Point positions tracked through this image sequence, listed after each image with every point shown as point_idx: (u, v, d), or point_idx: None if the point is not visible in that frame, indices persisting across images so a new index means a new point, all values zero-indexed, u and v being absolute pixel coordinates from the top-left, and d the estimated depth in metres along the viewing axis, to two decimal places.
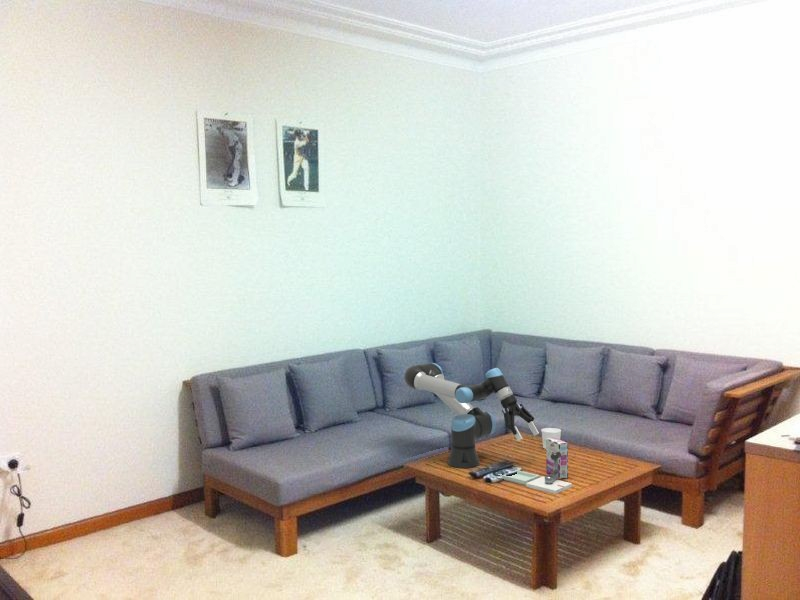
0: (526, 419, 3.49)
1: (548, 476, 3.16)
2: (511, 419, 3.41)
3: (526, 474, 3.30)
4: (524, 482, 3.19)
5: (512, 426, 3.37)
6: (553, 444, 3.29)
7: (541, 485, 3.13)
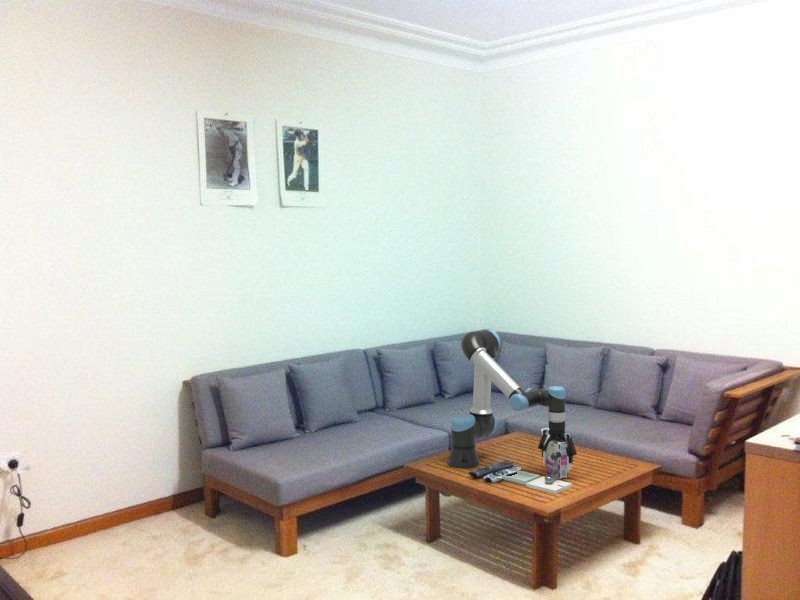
0: (546, 446, 3.35)
1: (548, 476, 3.16)
2: (568, 446, 3.28)
3: (526, 474, 3.30)
4: (524, 482, 3.19)
5: None
6: (553, 444, 3.29)
7: (541, 485, 3.13)
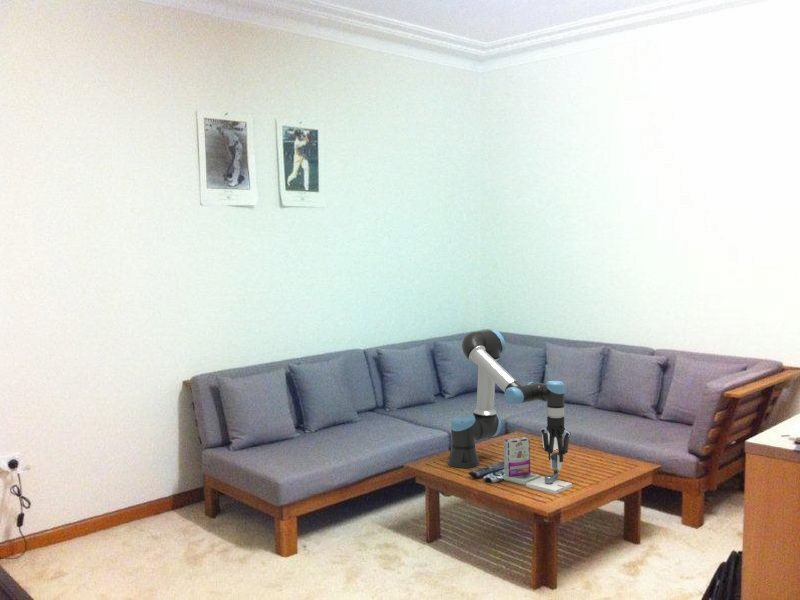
0: (552, 447, 3.22)
1: (548, 476, 3.16)
2: (561, 444, 3.20)
3: None
4: (524, 482, 3.19)
5: (563, 453, 3.20)
6: (521, 443, 3.26)
7: (541, 485, 3.13)
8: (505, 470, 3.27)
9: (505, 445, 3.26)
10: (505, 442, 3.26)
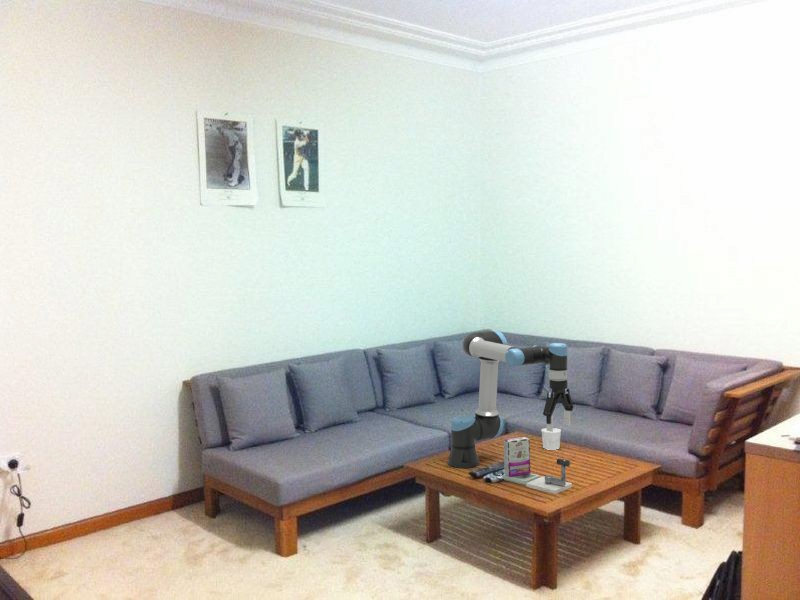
0: (565, 406, 3.15)
1: (549, 476, 3.16)
2: (552, 406, 3.06)
3: None
4: (524, 482, 3.19)
5: (549, 415, 3.04)
6: (521, 443, 3.26)
7: (541, 485, 3.13)
8: (505, 470, 3.27)
9: (505, 445, 3.26)
10: (505, 442, 3.26)
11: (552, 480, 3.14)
